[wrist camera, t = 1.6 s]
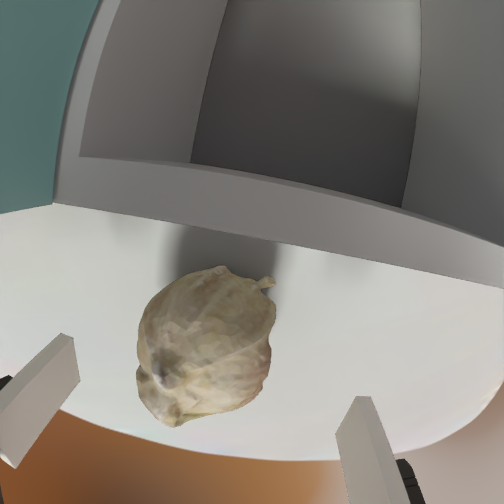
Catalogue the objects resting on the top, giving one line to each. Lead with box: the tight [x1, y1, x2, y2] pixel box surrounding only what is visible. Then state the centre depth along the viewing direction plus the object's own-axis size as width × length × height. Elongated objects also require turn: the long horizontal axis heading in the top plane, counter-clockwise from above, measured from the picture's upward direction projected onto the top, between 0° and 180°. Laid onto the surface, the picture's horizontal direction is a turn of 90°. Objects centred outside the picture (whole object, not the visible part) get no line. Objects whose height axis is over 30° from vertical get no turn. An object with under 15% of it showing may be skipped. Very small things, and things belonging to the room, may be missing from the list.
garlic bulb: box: [136, 265, 276, 428], centre depth 16 cm, size 9×8×10 cm
